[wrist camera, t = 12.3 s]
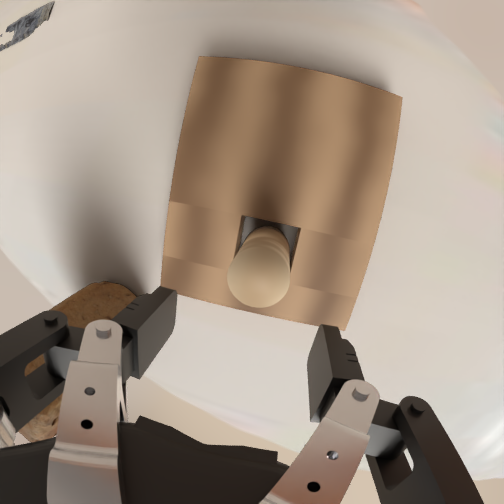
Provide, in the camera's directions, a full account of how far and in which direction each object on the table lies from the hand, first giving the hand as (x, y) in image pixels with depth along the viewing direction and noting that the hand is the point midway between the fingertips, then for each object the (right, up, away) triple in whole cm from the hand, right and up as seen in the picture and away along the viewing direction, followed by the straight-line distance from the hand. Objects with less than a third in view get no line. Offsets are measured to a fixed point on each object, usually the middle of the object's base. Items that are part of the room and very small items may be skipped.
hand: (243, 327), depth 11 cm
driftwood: (-41, +43, +10) cm, 60 cm away
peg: (+2, +4, +15) cm, 16 cm away
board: (+3, +9, +14) cm, 16 cm away
